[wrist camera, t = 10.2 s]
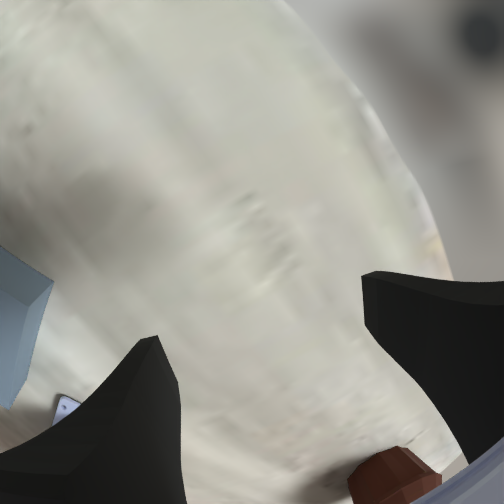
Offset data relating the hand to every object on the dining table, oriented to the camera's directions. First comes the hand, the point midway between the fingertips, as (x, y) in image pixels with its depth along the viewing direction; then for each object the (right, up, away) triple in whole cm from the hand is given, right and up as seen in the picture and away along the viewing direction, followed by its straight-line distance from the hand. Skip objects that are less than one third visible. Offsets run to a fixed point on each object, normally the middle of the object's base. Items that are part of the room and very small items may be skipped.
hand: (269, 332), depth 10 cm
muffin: (+15, -24, +20) cm, 35 cm away
